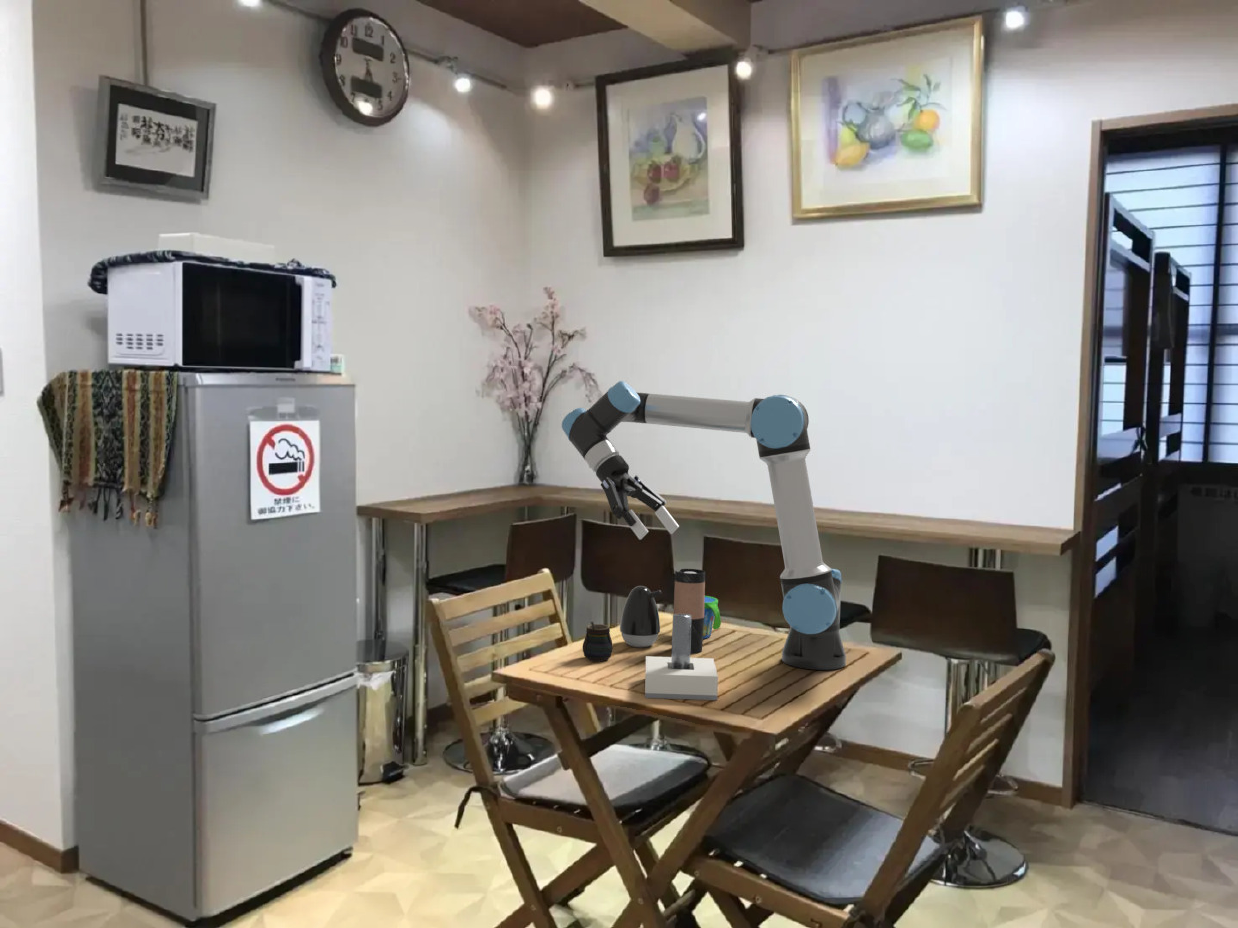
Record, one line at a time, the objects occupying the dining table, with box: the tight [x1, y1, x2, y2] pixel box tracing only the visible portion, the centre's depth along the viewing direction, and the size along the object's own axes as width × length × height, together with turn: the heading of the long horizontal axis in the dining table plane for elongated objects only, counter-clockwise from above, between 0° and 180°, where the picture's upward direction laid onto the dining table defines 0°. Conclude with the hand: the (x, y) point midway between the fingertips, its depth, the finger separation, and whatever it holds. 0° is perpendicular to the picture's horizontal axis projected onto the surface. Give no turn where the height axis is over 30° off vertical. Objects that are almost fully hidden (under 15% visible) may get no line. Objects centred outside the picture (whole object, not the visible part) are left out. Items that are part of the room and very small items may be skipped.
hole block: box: [644, 655, 719, 701], centre depth 215 cm, size 15×15×5 cm
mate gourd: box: [582, 621, 614, 662], centre depth 239 cm, size 7×8×10 cm
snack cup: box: [703, 595, 722, 640], centre depth 266 cm, size 16×10×10 cm
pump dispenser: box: [619, 585, 662, 648], centre depth 254 cm, size 10×10×15 cm
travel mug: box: [673, 568, 706, 655], centre depth 250 cm, size 8×8×20 cm
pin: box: [671, 613, 691, 670], centre depth 215 cm, size 4×4×15 cm
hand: (660, 533), depth 230 cm, fingers open, 13 cm apart
